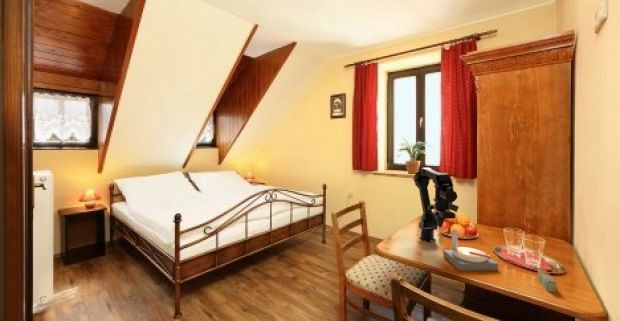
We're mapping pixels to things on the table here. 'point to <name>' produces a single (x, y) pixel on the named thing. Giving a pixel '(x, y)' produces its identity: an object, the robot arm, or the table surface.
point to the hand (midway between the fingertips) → (440, 227)
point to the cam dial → (466, 251)
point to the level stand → (470, 263)
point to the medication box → (546, 280)
